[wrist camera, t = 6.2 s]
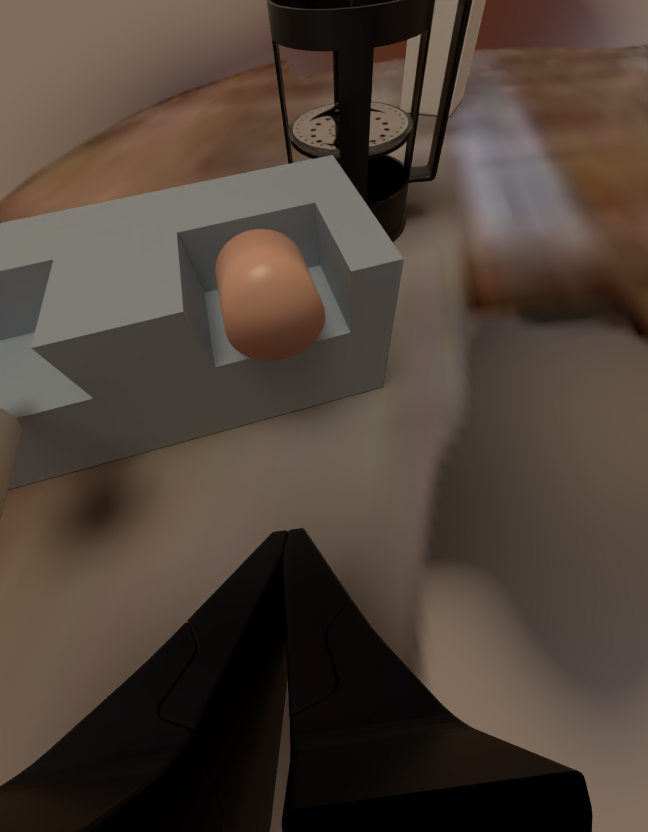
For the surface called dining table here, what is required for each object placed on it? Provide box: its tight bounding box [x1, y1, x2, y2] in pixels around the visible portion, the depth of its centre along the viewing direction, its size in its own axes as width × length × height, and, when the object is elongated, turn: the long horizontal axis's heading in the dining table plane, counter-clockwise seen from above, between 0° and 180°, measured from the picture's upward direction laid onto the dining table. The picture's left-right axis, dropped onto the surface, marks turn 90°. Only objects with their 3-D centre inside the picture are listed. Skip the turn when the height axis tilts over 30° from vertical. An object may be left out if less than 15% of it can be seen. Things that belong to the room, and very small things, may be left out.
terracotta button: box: [215, 229, 325, 361], centre depth 13 cm, size 5×4×4 cm
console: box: [0, 155, 404, 489], centre depth 16 cm, size 9×32×8 cm, turn 106°
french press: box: [267, 0, 472, 242], centre depth 17 cm, size 12×9×23 cm
